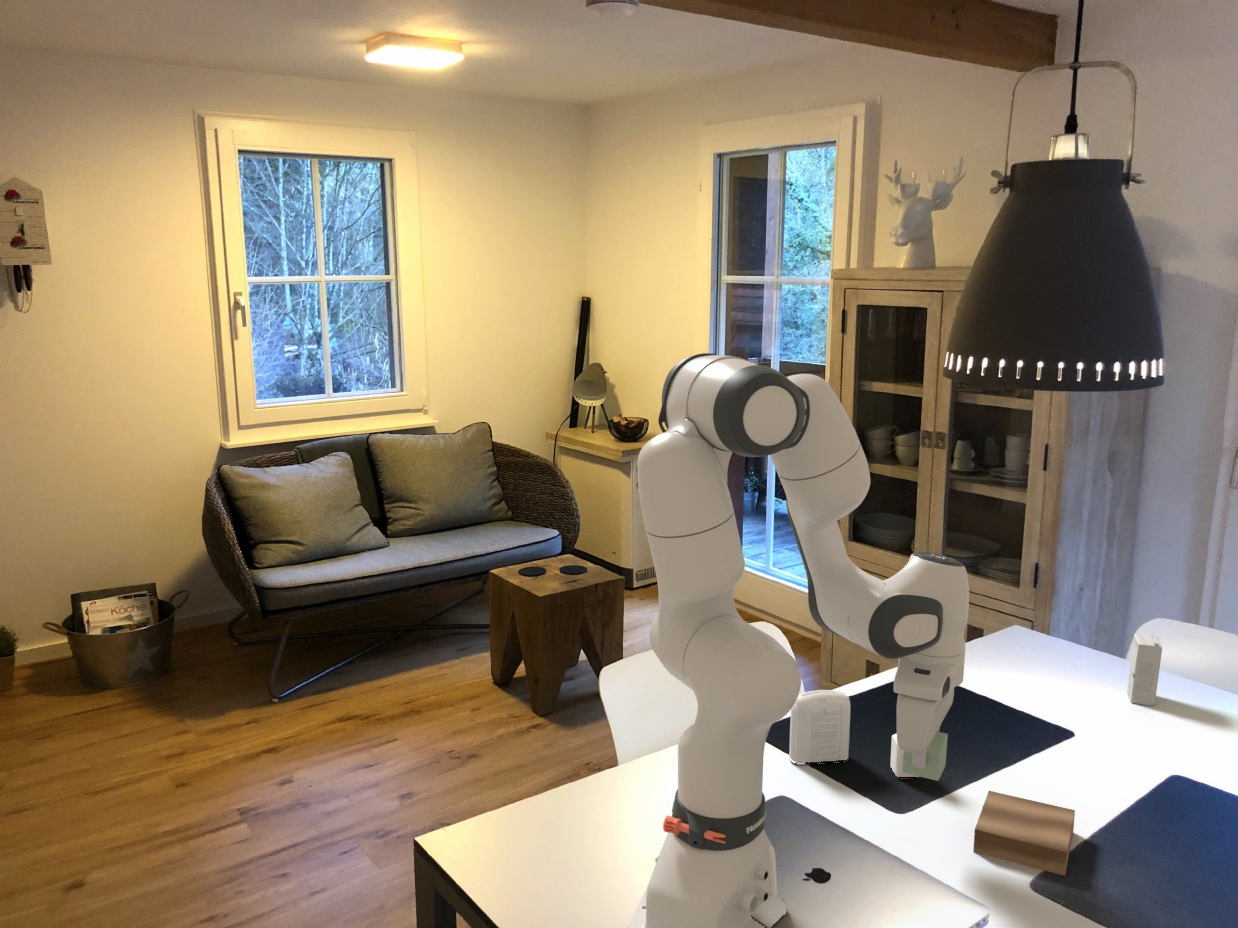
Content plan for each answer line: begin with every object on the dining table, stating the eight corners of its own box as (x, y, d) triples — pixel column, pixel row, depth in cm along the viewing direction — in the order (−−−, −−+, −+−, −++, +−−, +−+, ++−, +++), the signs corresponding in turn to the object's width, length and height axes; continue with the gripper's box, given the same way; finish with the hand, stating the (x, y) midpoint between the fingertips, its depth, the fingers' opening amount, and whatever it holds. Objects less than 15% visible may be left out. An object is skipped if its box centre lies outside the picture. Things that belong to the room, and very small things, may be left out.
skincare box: (1126, 690, 193) (1131, 632, 191) (1152, 694, 192) (1157, 634, 189) (1130, 703, 188) (1136, 643, 185) (1157, 706, 186) (1163, 646, 184)
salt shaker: (912, 766, 165) (915, 713, 163) (920, 778, 161) (923, 724, 159) (889, 767, 165) (891, 714, 163) (896, 779, 161) (899, 725, 159)
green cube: (938, 780, 138) (940, 747, 138) (902, 771, 141) (904, 739, 140) (945, 765, 143) (947, 733, 142) (910, 757, 145) (912, 725, 144)
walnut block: (1064, 878, 135) (1066, 851, 134) (973, 854, 141) (974, 829, 140) (1072, 834, 145) (1075, 809, 145) (987, 814, 151) (988, 790, 150)
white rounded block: (843, 750, 171) (845, 683, 168) (852, 762, 167) (854, 694, 164) (785, 755, 169) (787, 688, 167) (793, 767, 165) (795, 698, 163)
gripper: (924, 638, 149) (918, 723, 152) (890, 685, 132) (884, 780, 134) (968, 646, 146) (961, 733, 149) (938, 695, 129) (931, 792, 131)
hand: (924, 756), depth 141 cm, fingers closed on green cube, 5 cm apart
